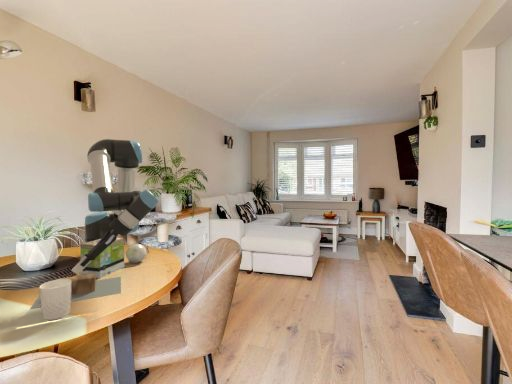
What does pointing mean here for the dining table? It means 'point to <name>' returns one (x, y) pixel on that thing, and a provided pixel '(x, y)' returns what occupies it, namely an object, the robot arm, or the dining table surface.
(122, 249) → the tea box
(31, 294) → the dining table surface
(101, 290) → the rubber mat
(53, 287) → the white cup
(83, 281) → the walnut block
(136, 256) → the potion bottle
